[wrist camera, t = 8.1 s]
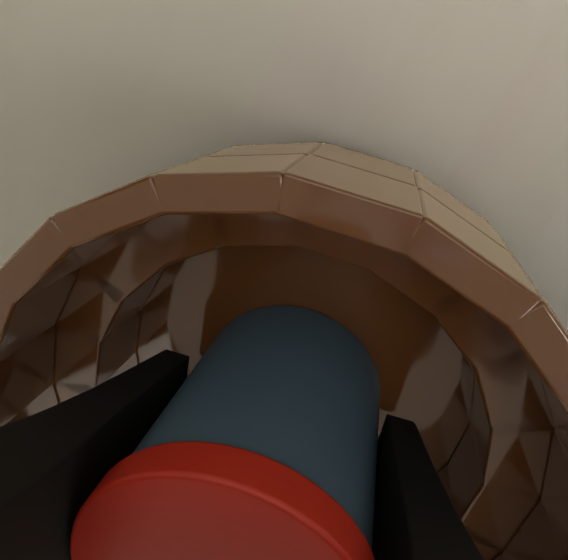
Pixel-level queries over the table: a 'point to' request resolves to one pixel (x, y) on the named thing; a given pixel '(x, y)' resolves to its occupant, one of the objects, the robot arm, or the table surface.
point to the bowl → (318, 297)
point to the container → (251, 453)
